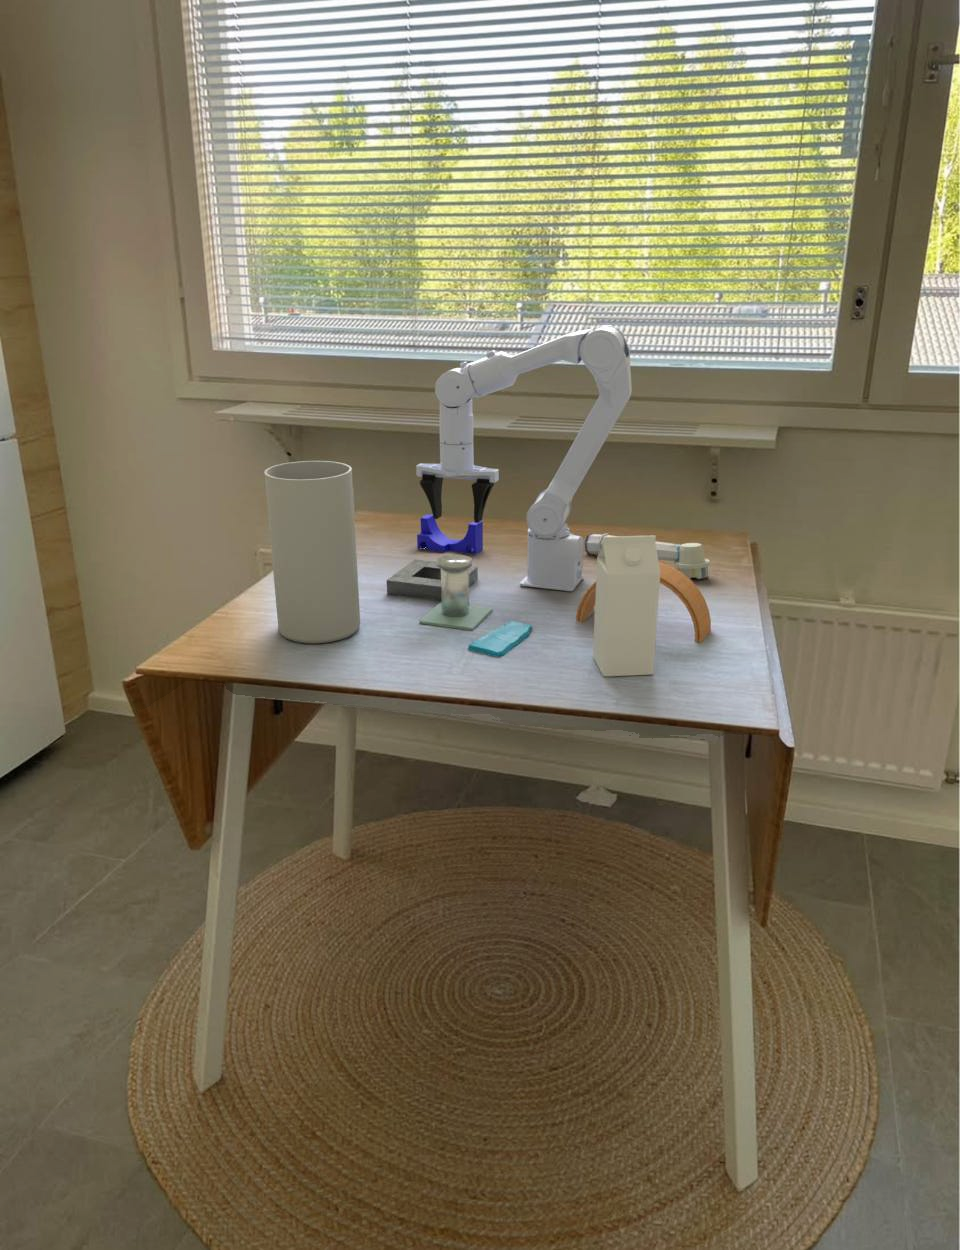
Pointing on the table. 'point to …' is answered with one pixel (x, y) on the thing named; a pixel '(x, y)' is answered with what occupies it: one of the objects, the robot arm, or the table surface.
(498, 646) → the sponge
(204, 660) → the table surface
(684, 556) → the angle grinder
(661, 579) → the arch
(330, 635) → the cylinder vase
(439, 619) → the mat
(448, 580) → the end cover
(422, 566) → the socket block
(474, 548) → the blue bearing cradle
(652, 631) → the milk carton
